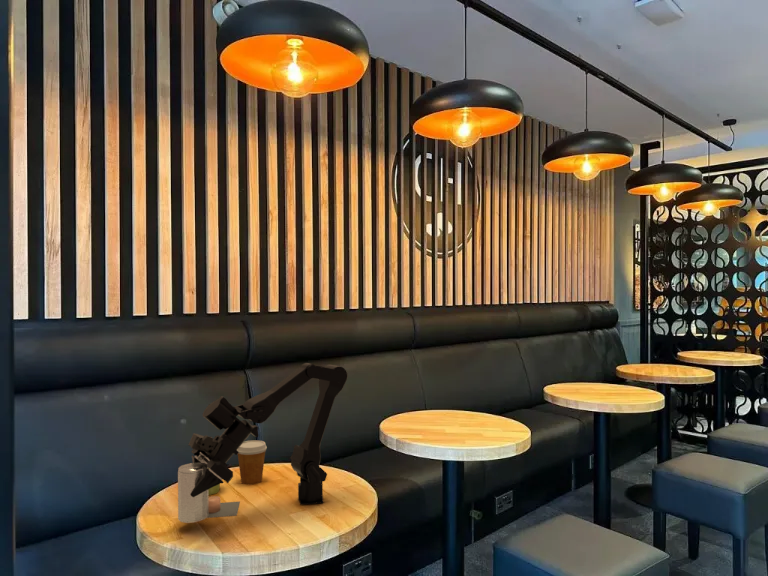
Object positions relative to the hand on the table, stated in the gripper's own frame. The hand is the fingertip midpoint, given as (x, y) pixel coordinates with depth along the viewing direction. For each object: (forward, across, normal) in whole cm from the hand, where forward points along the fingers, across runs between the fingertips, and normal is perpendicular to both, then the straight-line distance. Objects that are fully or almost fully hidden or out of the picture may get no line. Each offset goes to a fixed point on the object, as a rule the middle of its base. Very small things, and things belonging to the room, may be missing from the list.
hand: (187, 491), depth 134 cm
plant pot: (-1, -23, +15) cm, 28 cm away
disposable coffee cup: (-11, -25, +25) cm, 37 cm away
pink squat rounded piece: (+1, -8, +12) cm, 15 cm away
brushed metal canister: (+4, 0, +6) cm, 7 cm away
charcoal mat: (+1, -8, +13) cm, 15 cm away
